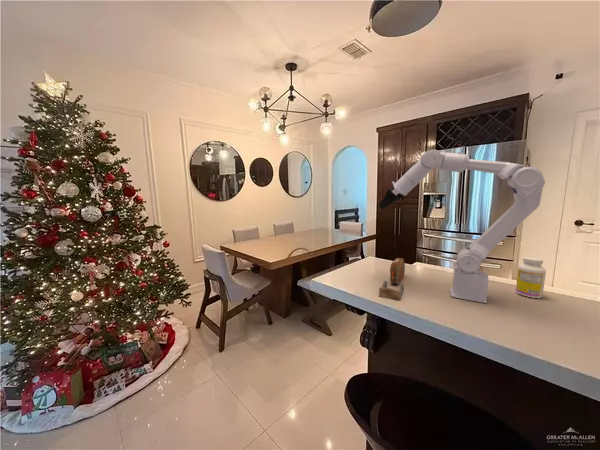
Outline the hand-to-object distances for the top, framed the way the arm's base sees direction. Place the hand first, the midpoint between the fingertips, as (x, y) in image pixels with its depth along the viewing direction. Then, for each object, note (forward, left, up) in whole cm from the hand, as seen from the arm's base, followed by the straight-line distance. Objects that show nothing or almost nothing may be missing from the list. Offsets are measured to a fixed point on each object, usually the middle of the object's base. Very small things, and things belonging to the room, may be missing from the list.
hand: (382, 206), depth 92 cm
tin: (-6, -2, -30) cm, 31 cm away
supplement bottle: (-47, -9, -30) cm, 57 cm away
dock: (-6, +11, -30) cm, 32 cm away
